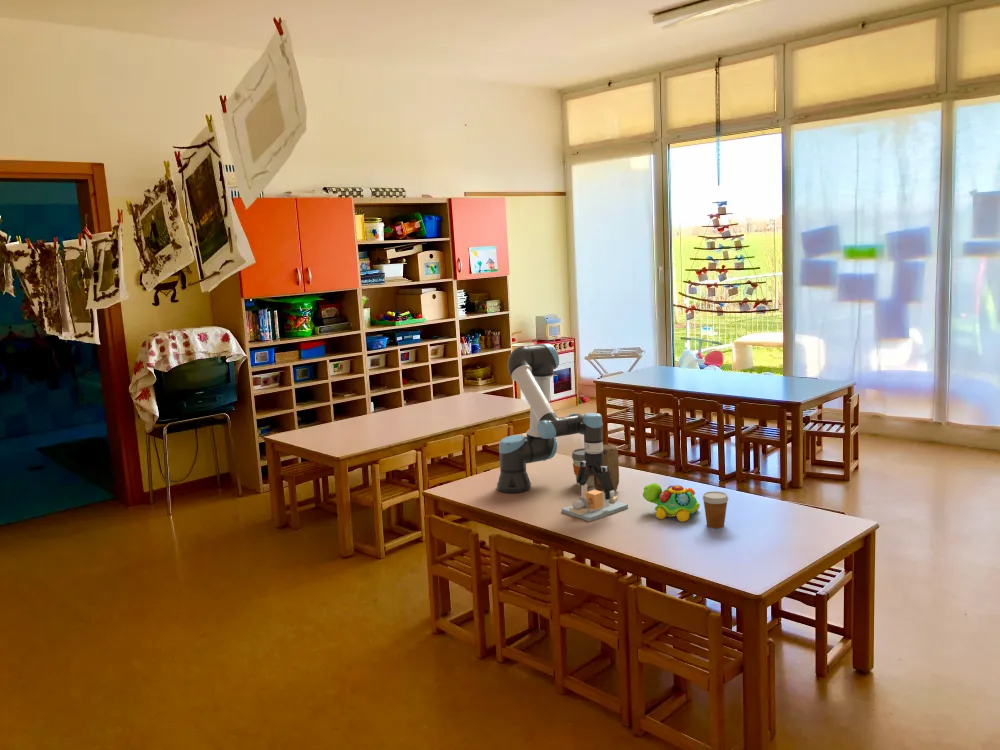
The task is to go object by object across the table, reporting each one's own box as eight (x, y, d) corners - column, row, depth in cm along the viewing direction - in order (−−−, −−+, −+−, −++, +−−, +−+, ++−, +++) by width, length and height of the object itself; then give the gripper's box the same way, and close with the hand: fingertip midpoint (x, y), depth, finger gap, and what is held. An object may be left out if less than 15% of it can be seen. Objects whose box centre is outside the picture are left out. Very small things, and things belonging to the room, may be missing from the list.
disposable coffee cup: (716, 531, 294) (716, 500, 292) (697, 524, 302) (696, 494, 300) (734, 525, 299) (734, 495, 297) (714, 519, 307) (714, 489, 305)
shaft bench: (561, 512, 324) (561, 496, 322) (601, 498, 338) (601, 483, 337) (589, 521, 311) (589, 504, 310) (630, 507, 325) (629, 491, 324)
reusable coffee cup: (567, 482, 363) (566, 450, 360) (590, 478, 368) (589, 446, 366) (582, 489, 351) (581, 456, 349) (606, 484, 357) (605, 452, 355)
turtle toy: (650, 503, 329) (650, 476, 327) (706, 511, 317) (706, 482, 315) (635, 516, 314) (635, 488, 313) (693, 525, 302) (693, 495, 301)
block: (621, 490, 347) (620, 446, 344) (609, 494, 343) (608, 449, 339) (603, 485, 356) (601, 442, 352) (591, 489, 351) (589, 445, 348)
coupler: (581, 507, 323) (581, 493, 322) (599, 502, 329) (598, 488, 328) (590, 510, 319) (590, 496, 318) (608, 504, 325) (607, 490, 324)
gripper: (566, 448, 327) (568, 499, 331) (608, 458, 309) (610, 512, 312) (579, 444, 332) (581, 495, 335) (622, 454, 313) (623, 507, 317)
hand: (595, 503), depth 324 cm, fingers open, 11 cm apart
